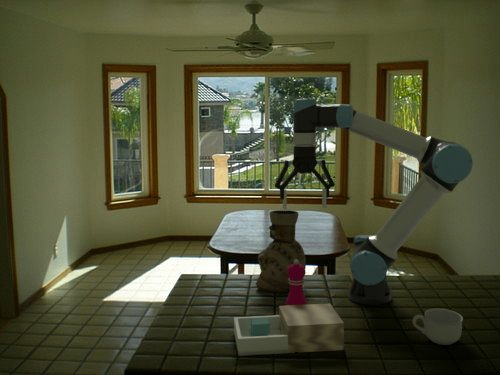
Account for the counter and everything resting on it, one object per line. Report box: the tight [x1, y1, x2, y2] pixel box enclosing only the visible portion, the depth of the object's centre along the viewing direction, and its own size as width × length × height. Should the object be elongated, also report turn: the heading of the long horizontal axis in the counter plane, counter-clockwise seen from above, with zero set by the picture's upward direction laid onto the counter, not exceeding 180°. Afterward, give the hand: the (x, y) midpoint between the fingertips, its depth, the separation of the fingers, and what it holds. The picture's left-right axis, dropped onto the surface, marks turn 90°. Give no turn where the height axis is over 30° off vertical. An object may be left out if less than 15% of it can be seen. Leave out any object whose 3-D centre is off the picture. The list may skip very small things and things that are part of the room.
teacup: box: [412, 308, 464, 346], centre depth 161 cm, size 14×11×8 cm
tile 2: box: [251, 317, 270, 335], centre depth 160 cm, size 5×5×3 cm
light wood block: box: [278, 302, 345, 354], centre depth 163 cm, size 16×16×8 cm
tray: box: [233, 314, 289, 357], centre depth 161 cm, size 14×16×5 cm
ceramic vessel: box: [255, 209, 307, 294], centre depth 208 cm, size 19×21×30 cm
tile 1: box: [249, 327, 268, 337], centre depth 161 cm, size 5×5×3 cm
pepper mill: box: [284, 259, 308, 306], centre depth 178 cm, size 7×7×20 cm
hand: (304, 208), depth 186 cm, fingers open, 13 cm apart
